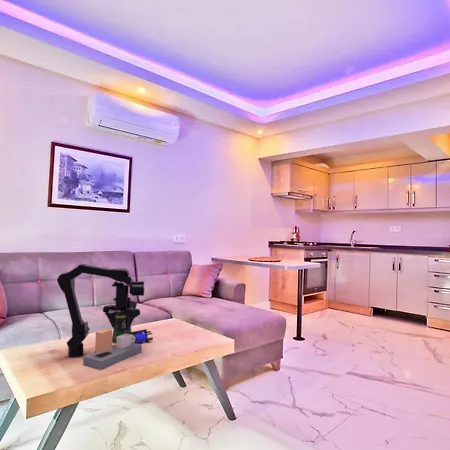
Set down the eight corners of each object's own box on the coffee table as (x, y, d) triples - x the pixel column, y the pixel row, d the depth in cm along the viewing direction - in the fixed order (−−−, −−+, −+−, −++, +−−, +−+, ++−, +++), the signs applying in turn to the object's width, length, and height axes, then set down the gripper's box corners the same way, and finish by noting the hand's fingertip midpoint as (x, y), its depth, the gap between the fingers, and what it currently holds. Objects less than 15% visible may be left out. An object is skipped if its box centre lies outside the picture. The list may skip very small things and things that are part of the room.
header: (83, 367, 143) (83, 356, 143) (124, 350, 164) (124, 341, 165) (101, 372, 138) (101, 361, 138) (141, 354, 159) (141, 344, 159)
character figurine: (155, 344, 175) (127, 350, 166) (149, 340, 181) (121, 345, 172) (155, 329, 175) (127, 334, 166) (149, 325, 180) (122, 330, 171)
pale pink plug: (116, 355, 155) (116, 336, 155) (125, 351, 160) (125, 333, 160) (121, 356, 153) (122, 337, 153) (131, 352, 158) (131, 334, 159)
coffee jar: (117, 346, 170) (118, 309, 170) (109, 343, 175) (110, 307, 176) (134, 342, 177) (135, 307, 177) (126, 339, 182) (127, 304, 183)
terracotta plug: (95, 352, 144) (95, 332, 145) (106, 348, 150) (106, 328, 150) (101, 353, 143) (101, 333, 143) (111, 349, 148) (112, 329, 148)
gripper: (148, 295, 161) (147, 328, 161) (120, 291, 170) (118, 322, 170) (132, 299, 152) (130, 333, 151) (102, 294, 160) (101, 327, 160)
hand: (120, 329), depth 158 cm, fingers open, 9 cm apart
